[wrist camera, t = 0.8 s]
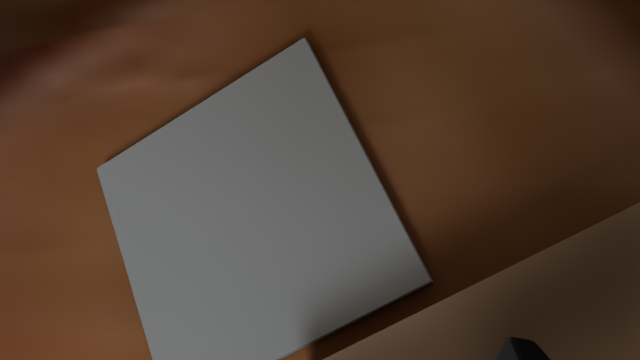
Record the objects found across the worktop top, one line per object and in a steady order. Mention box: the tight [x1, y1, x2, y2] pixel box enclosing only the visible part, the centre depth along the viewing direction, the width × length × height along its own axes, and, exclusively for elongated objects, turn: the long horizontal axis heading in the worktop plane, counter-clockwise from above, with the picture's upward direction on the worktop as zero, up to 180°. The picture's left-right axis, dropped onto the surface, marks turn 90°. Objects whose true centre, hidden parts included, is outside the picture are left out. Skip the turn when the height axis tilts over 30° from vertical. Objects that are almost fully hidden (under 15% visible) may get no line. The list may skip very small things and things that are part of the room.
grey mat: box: [97, 37, 433, 360], centre depth 24 cm, size 12×12×1 cm
